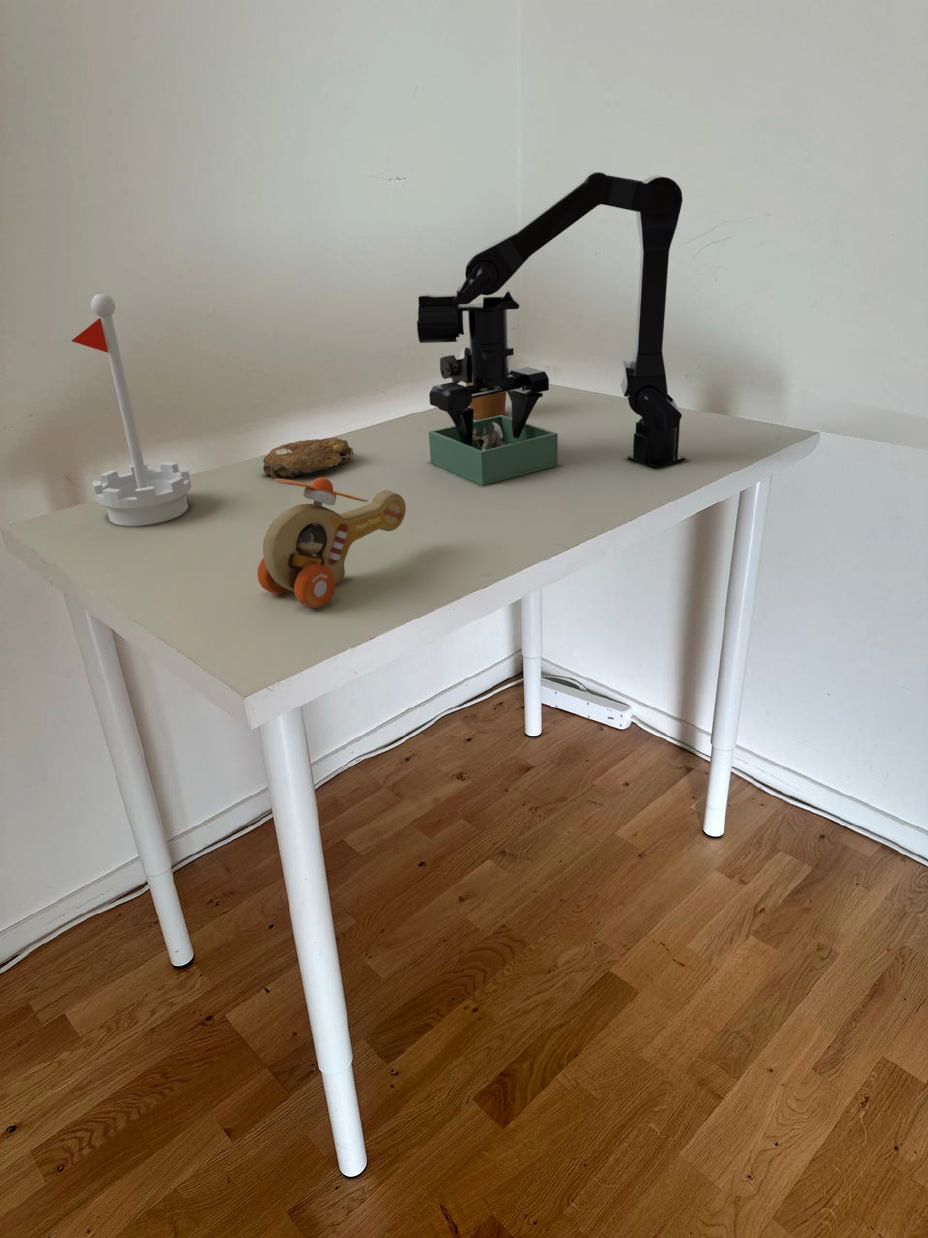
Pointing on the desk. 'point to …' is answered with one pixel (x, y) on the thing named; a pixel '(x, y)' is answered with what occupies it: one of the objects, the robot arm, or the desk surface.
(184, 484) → the flag stand
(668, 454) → the robot arm
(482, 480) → the bin
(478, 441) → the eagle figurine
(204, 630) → the desk surface
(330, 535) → the toy helicopter
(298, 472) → the decorative rock
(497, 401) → the disposable coffee cup
